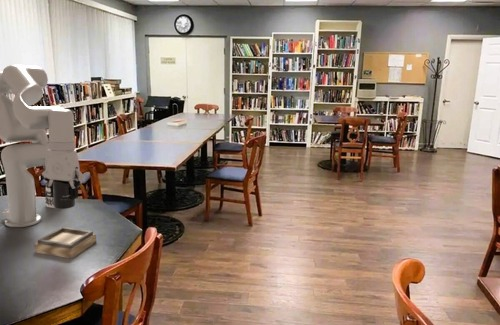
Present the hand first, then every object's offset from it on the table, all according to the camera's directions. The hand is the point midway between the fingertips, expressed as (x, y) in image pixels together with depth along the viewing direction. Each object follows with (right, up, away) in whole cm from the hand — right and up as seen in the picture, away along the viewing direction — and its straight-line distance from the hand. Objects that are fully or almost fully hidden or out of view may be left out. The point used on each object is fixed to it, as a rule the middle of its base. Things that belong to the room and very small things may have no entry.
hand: (64, 197), depth 130 cm
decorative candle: (-25, -8, +44) cm, 52 cm away
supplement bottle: (0, -3, +1) cm, 3 cm away
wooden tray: (-1, -18, +4) cm, 18 cm away
